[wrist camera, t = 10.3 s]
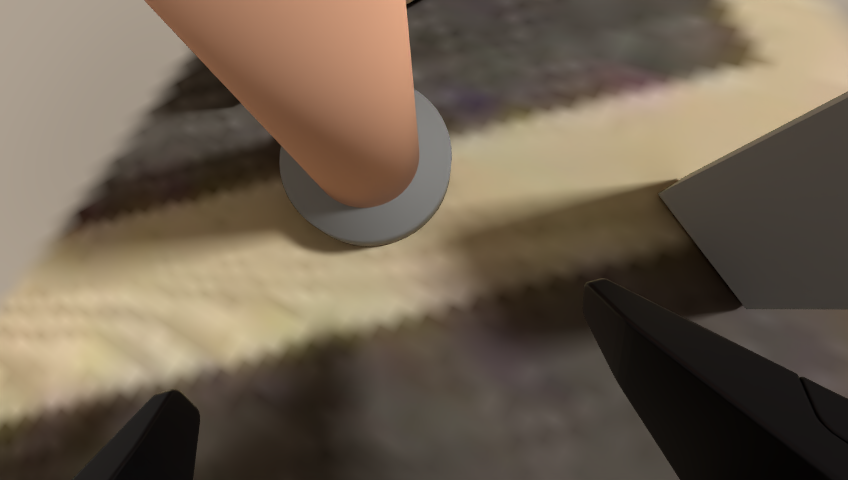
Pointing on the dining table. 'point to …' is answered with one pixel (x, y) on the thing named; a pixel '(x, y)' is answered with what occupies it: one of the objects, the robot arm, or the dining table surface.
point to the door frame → (776, 213)
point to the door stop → (330, 106)
